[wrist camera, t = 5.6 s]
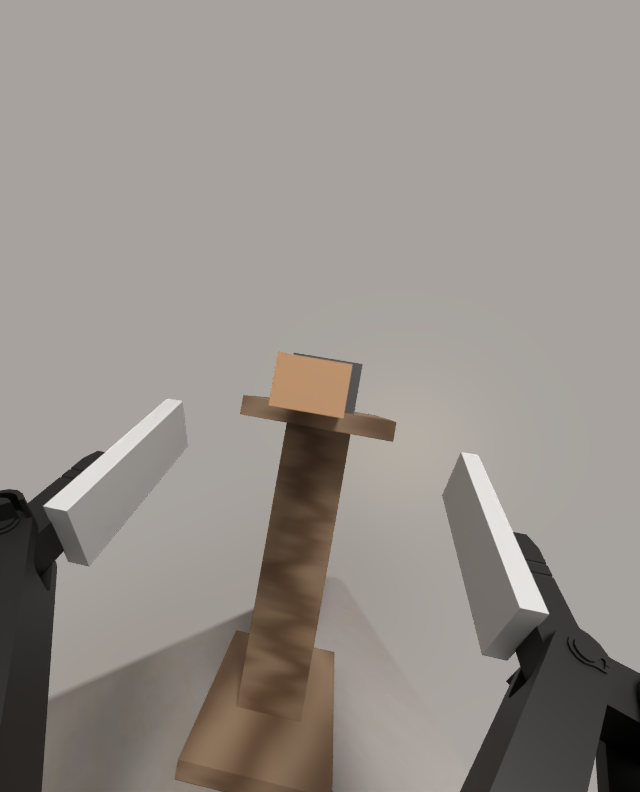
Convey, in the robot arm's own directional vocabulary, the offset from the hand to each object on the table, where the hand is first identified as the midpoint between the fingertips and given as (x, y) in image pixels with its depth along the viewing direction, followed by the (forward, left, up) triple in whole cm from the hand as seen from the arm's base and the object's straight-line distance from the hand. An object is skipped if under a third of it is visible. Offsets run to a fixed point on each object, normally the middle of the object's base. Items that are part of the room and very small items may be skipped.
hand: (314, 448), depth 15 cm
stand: (-1, +16, -28) cm, 33 cm away
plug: (-1, +10, +2) cm, 10 cm away
